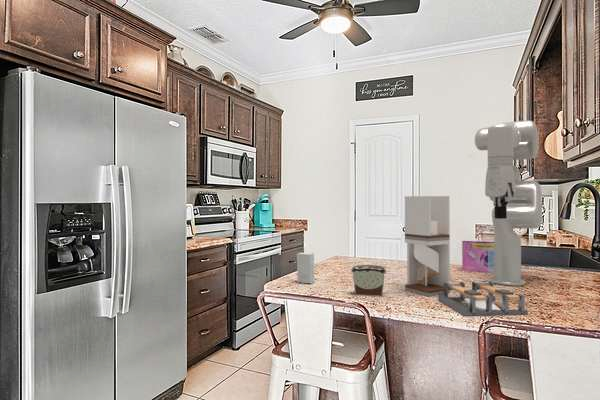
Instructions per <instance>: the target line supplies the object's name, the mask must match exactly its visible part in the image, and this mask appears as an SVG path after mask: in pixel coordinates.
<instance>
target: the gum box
mask: <svg viewBox="0 0 600 400" xmlns="http://www.w3.org/2000/svg"><path fill="white" fill-rule="evenodd" d="M461 246H462V247H461V252H462V253H461V255H462V258H461V259H462V266H461V267H462V271H463V270H464V272H474V271H482V272H481V273H492V271H493V270H494V241H479V240H477V241H476V240H461ZM467 270H469V271H467ZM470 270H471V271H470Z"/></svg>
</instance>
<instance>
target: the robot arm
mask: <svg viewBox="0 0 600 400" xmlns="http://www.w3.org/2000/svg"><path fill="white" fill-rule="evenodd" d="M474 144H475V147H476V149H477V150H479V151H487V167H486V175H485V183H484V184H485V189H484V193H485V196H486V197H488V198H489V200H490V201H492V202H493V208H492V210H491V220H492V226H493V242H494V270H493V271H492V272H491V274H493V277H490V278H489V282H493V284H497V285H501V286H510V287H511V286H512V287H519V286H525V285H526V280H524V279H522V241H521V237H520V235H518V233H517V232H515V231H516V230H514V229H523V230H524V229H527V230H529V229H531V230H532V229H533V230H534V229H539V228H540V227H541V226H542V222H543V196H542V195H543V194H542V188H541V185H540V183H539V182H538V181H535V180H521V171H520V169H519V168H518V167H517V166H516V165H515V164H514V161H516V160H517V161H518V160H519V161H521V160H522V161H523V160H532V159H535V158H536V157H537V156H538V153H539V131H538V127H537V124H536V123H535V122H534V121H533V120H518V121H508V122H507V121H506V122H502V123H501V124H495V125H491V126H486V127H482V128H479V129H477V131H476V133H475V136H474Z"/></svg>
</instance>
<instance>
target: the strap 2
mask: <svg viewBox="0 0 600 400" xmlns="http://www.w3.org/2000/svg"><path fill="white" fill-rule="evenodd" d="M476 283H477V291H478V290H481V291H485V292H490V293H493V295H496V296H498V297H501V298H502V295H507V296H508V301H518V300H520V297H519V296H518V295H516V294H514V292H513V291H510V290H508V289H504V288H503V289H500V288H497V287H494V286H493V287H492V286H491V285H490V283H488V282H476Z"/></svg>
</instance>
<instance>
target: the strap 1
mask: <svg viewBox="0 0 600 400" xmlns="http://www.w3.org/2000/svg"><path fill="white" fill-rule="evenodd" d="M448 290H450V291H455V292H457V293H459V294H460V293H461V294H463V295H465V296H467V297H469V298H470V296H474V297H475V300H476V301H487V297H485V296H486V295H482V292H480V291H478V290H477V291H475V290H472V289H468V288H467V287H466V288H464V287H462V285H461V284H460V282H459V283H457V282H456V283H455V282H454V283H450V284H448Z"/></svg>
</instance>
